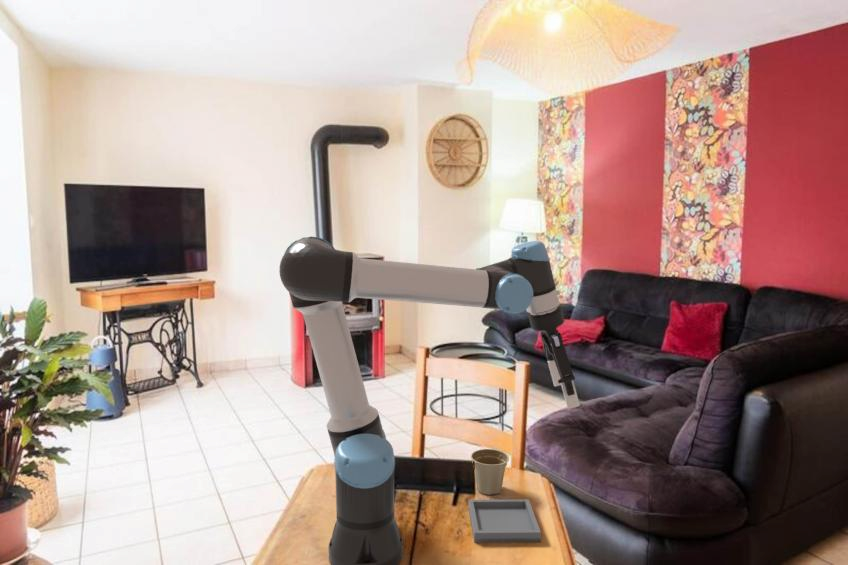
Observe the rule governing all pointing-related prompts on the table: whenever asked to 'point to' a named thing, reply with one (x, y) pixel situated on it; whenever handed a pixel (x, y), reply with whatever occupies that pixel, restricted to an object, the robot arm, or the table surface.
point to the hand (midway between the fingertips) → (566, 395)
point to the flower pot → (489, 470)
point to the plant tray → (503, 521)
